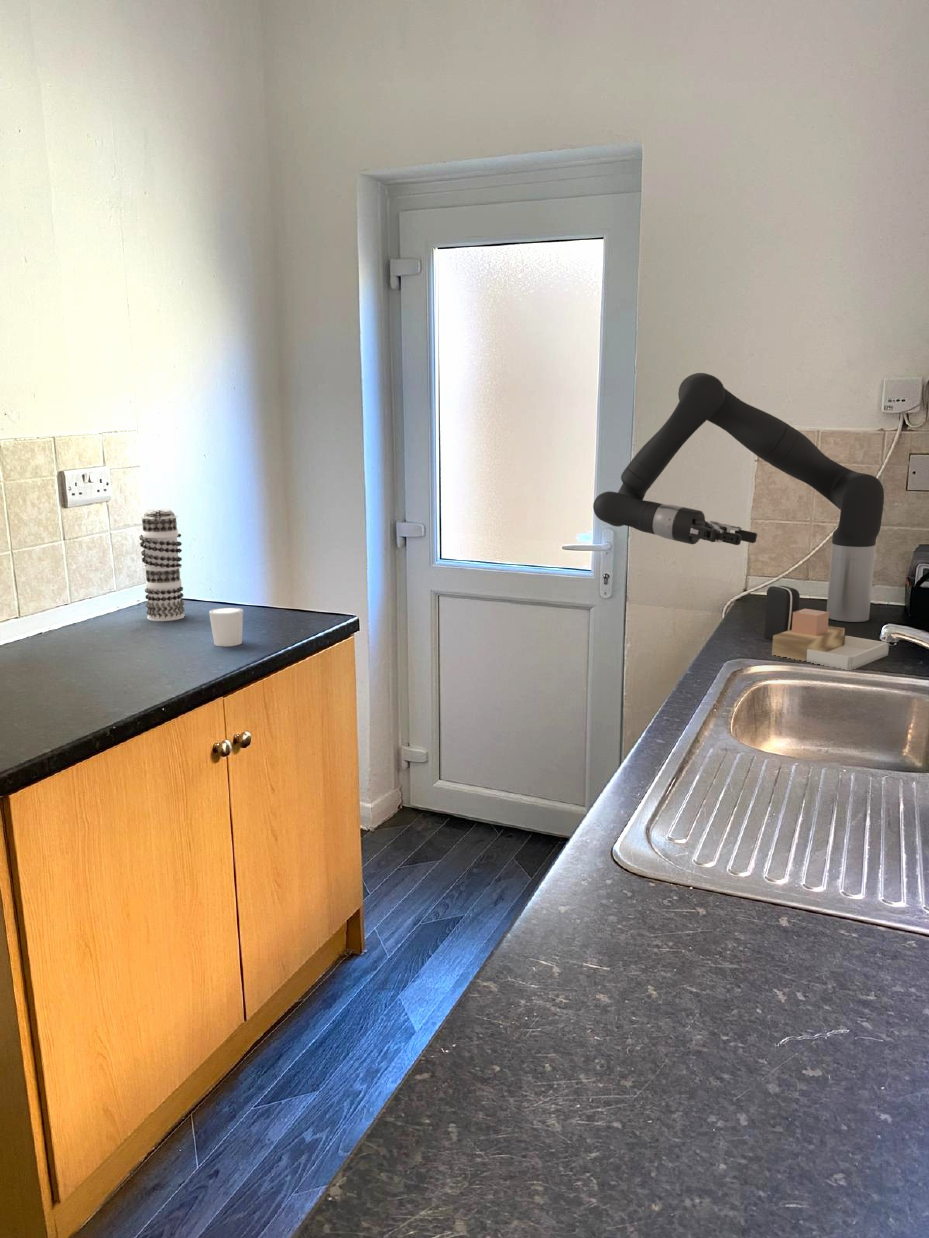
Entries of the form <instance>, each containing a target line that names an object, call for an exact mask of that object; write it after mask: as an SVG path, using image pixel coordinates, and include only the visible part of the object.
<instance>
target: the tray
mask: <svg viewBox="0 0 929 1238" xmlns="http://www.w3.org/2000/svg"><path fill="white" fill-rule="evenodd" d="M889 647H890V642H888V641H887V642H886V641H879V640H875V639H874V640H873V639H869V638H863V637H858V636H857V637H855V636H850V635H844V644H843V646H841V647H838V648H836V649H833V650H830V651H827V652H822V651H817V650H811V649H807V659H806V661H807V662H811V663H810V664H812V663H814V664H813V665H817V664H820V665H819V666H823V665H824V666H823V667H828V666H829V668H833V667H836V668H835V669H838V668H841V669H840V670H843V669H845V670H844V671H849V670H850V672H851V671H853V669H854V670H855V669H858V668H860V667H863V666H865V665H867V664H870V663H872V662H875V661H877V660H879V659H882V658H885V657H887V656H889V649H890V648H889ZM807 662H806V663H807Z"/></svg>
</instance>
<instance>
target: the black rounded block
mask: <svg viewBox="0 0 929 1238" xmlns="http://www.w3.org/2000/svg"><path fill="white" fill-rule="evenodd" d="M800 601H801V597H800V592H799V591H798V589H796V588H793V587H790V586H787V585H786V586H785V585H771V586H769V587H768V588H767V590H766V597H765V609H764V610H765V613H764V616H765V618H764V632H763V634H764V636H763V637H764V638H767V639H770V640H772V641H773V635H776V634H779V633H782V632H785V631H789V630H792V620H793V612H795V611H799V610H800V607H801V606H800V604H801V602H800Z"/></svg>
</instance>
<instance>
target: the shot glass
mask: <svg viewBox="0 0 929 1238" xmlns="http://www.w3.org/2000/svg"><path fill="white" fill-rule="evenodd" d="M208 613H209V621H210V626H211V627H210V628H211V632H212V638H213V639H212V640H213V645H214V646H217V647H234V646H238V645H240V644H242V643H243V621H244V620H243V619H244V609H243V608H239V607H221V608H220V607H218V608H213V609H211V610H209V611H208Z"/></svg>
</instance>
